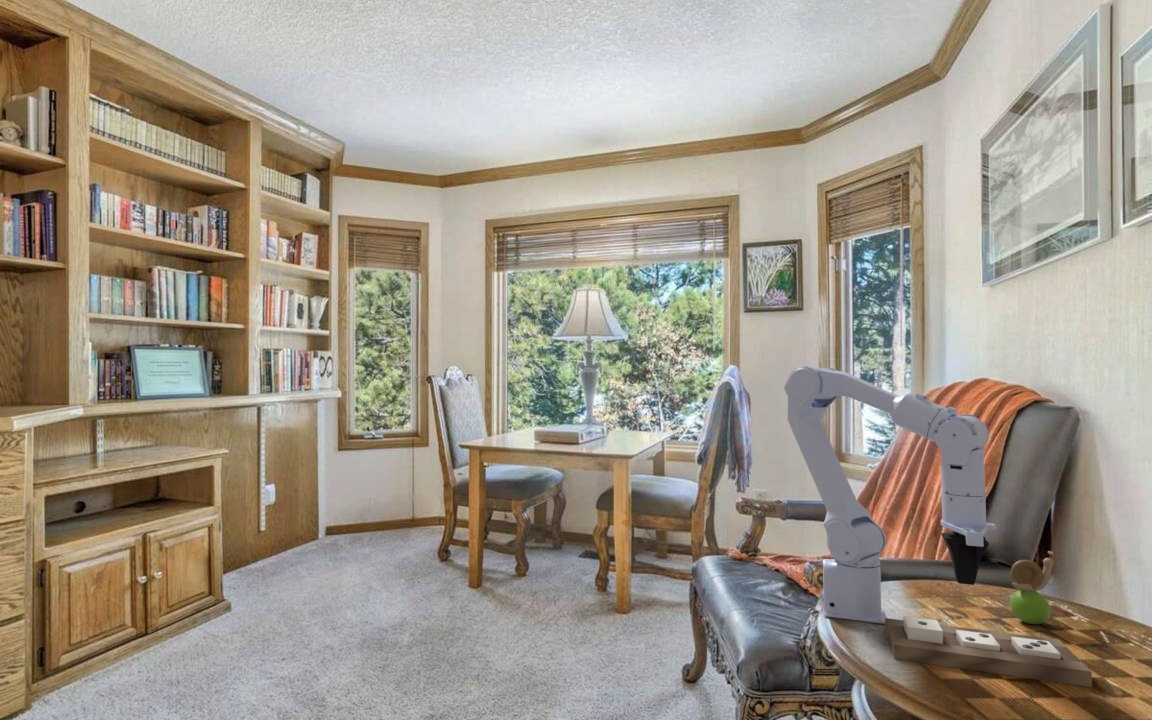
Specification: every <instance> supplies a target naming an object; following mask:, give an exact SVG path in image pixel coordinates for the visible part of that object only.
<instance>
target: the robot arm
mask: <svg viewBox="0 0 1152 720" xmlns="http://www.w3.org/2000/svg"><path fill="white" fill-rule="evenodd" d="M783 388H784V391H785V394H786V395H787V421H788V424H789V427H790V429H791V431H792V433H793V436H794V437H795V441H796V443H797V445H798V447H799V450H800V452H801V455H802V457H803V459H804V461H805V464H806V466H807V468H808V470H809V472H810V475H811V477H812V480H813V482H814V484H815V486H816V489H817V491H818V494H819V496H820V498H821V500H822V503H823V505H824V507H825V510H826V514H825V518H824V521H823V526H824V529H825V531H826V535H827V536H826V539H827V540H826V544H827V548H828V551H829V553H830V554H831V555H832V557H833V558H830V559H829V558H824V559H822V572H823V575H822V579H823V580H822V581H823V582H822V583H823V589H822V590H821V602H823V609H824V611H823V612H824V616H825V617H828V618H834V619H843V620H844V619H845V620H851V621H859V622H868V623H874V624H882V625H883V624H884V625H885V618H886V616H885V612H884V610H883V607H882V589H881V588H882V584H881V583H882V582H881V559H880V554H881V553H882V552H883V551H884V550H885V548H886V544H887V537H886V534H885V531H884V529H883V528H882V527H881V525H879V524H878V523H877V522H876V521H875V520H874V519H873V517H872V515H871V514H870V511H869V510H868V509H867V508H866V507H864V506H863V505H862V504H861V503H859V501H858V500H857V497H856V495H855V494H854V491H853V490H852V489H853V488H852V487H851V484H850V483H849V480H848V478H847V476H846V474H845V471H844V470H843V467H842V465H841V463H840V461H839V458H838V456H837V454H836V452H835V450H834V448H833V445H832V443H831V441H830V439H829V437H828V435H827V432H826V429H825V427H824V425H823V423H822V419H823V417H824V416H825V415H824V414H825V413H826V411H827V410H828V408H829V407H830V406H831V405H832V404H833V403H834V402H835V401H836V400H837V398H838V397H847V398H850V399H852V400H855V401H858V402H861V403H863V404H865V405H867V406H870V407H872V408H875V409H876V410H880V411H882V412H885V413H887V414H889V416H890V418H891V420H892V422H893V424H894V425H896V426H898V427H900V428H903V429H904V430H907V431H909V432H911V433H914V434H916V435H918V436H920V437H921V438H924V439H927V440H929V441H931V442H934V443H935V444H936V446H937V447H938V448H939V449H940V460H941V461H940V478H941V479H940V481H941V482H940V483H941V485H940V486H941V519H940V526H941V527H943V528H945V529H948V530H950V531H951V532H941V534H940V535H941V537H942V539H943V540H944V542H945V545H946V547H947V549H948V553H949V557H950V559H951V563H952V568H953V572H954V576H955V579H956V582H957V583H958V584H961V585H970V586H974V585H975V583H976V581H977V580H976V579H977V577H978V572H979V566H980V563H981V560H982V557H983V556H984V553H985V552H986V550H987V549H988V547H989V545H990V542H989V541H988V540H987V539H986V537H985V536H984V535H985V533H987V532H988V531H997V527H996V525H995V524H994V523H991V522H987V508H986V507H987V506H986V505H987V503H986V502H987V501H986V470H985V469H986V465H985V453H984V452H985V451H984V447H985V446H986V445H987V443H988V441H989V437H990V432H989V429H988V427H987V425H986V424H985V422H983V421H982V420H981V419H980V418H978V417H976V416H975V415H973V414H969V413H968V414H967V413H965V414H959V415H958V413H957V412H958V409H957V408H955V407H952V406H948V407H945V406H942V405H940V404H937V403H935V402H934V401H931V400H928V399H927V398H928V396H927V395H926V394H924V393H919V392H917V393H916V394H913V393H911V392H909V393H906V394H903V395H900V396H898V395H896V394H894V393H892V392H890V391H888V390H886V389H883V388H881V387H879V386H877V385H875V384H873V383H870V382H869V381H866V380H864V379H862V378H859V377H857V376H856V375H853V374H851V373H849V372H845V371H841V370H837V369H835V368H833V367H829V366H828V367H825V366H824V367H813V366H812V367H811V366H808V365H802V366H801V365H800V366H798V367H796V368H794V369H793V370H792V371H791V372H790V374H789V375H788V378H787V380H786V382H785V384H784V386H783Z"/></svg>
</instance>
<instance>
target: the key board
mask: <svg viewBox="0 0 1152 720" xmlns="http://www.w3.org/2000/svg"><path fill="white" fill-rule="evenodd" d="M939 625H940V627H941V629H942V631H943V644H941V643H933V642H926V641H918V640H911V639H906V637H905V634H904V619H897V618H896V619H895V618H887V617H885V624H884V627H885V629H884V630H885V633H886V637H887V640H888V643H889V646H890V649H891V652H892V655H893V658H894V660H899V661H906V662H913V661H914V662H915V663H921V664H928V665H936V666H942V667H947V668H948V667H949V668H956V669H963V670H969V671H970V670H971V671H975V672H976V671H977V672H983V673H991V674H997V675H1005V676H1011V677H1017V678H1024V679H1025V678H1027V679H1030V680H1031V679H1032V680H1040V681H1047V682H1053V683H1058V684H1066V685H1073V686H1080V687H1081V686H1082V687H1087V688H1093V677H1092V675H1093V674H1092V673H1093V672H1092V670H1091V669H1089V667H1088V666H1086V664H1084V663H1083V661H1082V660H1081V659H1079V658H1078V657H1077V656H1076V654H1074V653H1073V652H1072V651H1071V650H1070V649H1069V648H1068V647H1067V646H1066V645H1065V644H1064V643H1063V642H1062V641H1061V639H1058V638H1051V637H1050V638H1049V637H1041V636H1035V635H1024V634H1019V633H1018V634H1017V633H1009V632H1001V631H993V630H985V629H979V628H978V629H977V628H969V627H960V626H952V625H944V624H939ZM956 630H962V631H970V632H978V633H986V634H991V635H992V636H993V637H994V639H995V640H996V641H997V643H998V644H999V645H1000V651H994V650H986V649H979V648H971V647H963V646H961V645H960V643H959V642H958V640H957V638H956ZM1011 637H1019V638H1027V639H1035V640H1043V641H1049V642H1050V643H1051V644H1052V646H1053V647H1054V648H1055V649H1056V650H1057V651H1058V652H1059V653H1060V654H1061V659H1054V658H1046V657H1039V656H1031V655H1024V654H1019V653H1018V651H1017V650H1016V649H1015V648H1014V646H1013V645H1012V644H1011Z"/></svg>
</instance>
